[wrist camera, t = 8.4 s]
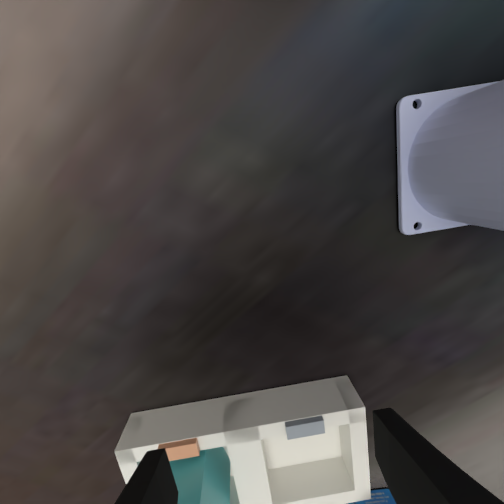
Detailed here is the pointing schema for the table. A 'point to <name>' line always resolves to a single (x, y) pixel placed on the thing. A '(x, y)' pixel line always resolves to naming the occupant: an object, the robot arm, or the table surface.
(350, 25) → the table surface
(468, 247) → the table surface
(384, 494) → the ink box
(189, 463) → the teal rectangular block
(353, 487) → the white divided tray
